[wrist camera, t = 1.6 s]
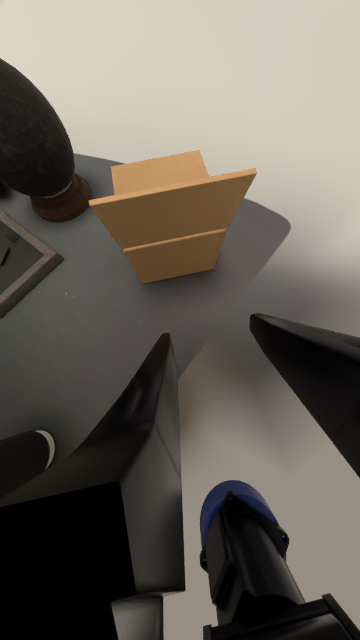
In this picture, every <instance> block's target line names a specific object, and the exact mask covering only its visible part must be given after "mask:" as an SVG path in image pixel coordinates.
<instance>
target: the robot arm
mask: <svg viewBox="0 0 360 640" xmlns="http://www.w3.org/2000/svg"><path fill="white" fill-rule="evenodd" d="M250 331H251V332H252V334H253V336H254V337H255V339H256V341H257V343H258V344H259V346H260V348H261V349H262V351H263V352H264V354H265V355H266V356H267V358H268V359H269V360H270V362H271V363H272V364H273V365H274V367H275V368H276V369H277V371H278V372H279V373H280V375H281V376H282V377H283V378H284V380H285V381H286V382H287V383H288V385H289V386H290V387H291V389H292V390H293V391H294V393H295V394H296V395H297V397H298V398H299V399H300V400H301V402H302V403H303V405H304V406H305V407H306V408H307V410H308V411H309V412H310V414H311V415H312V416H313V418H314V419H315V420H316V421H317V423H318V424H319V425H320V427H321V428H322V429H323V431H324V432H325V433H326V434H327V436H328V437H329V438H330V440H331V441H332V442H333V444H334V445H335V446H336V448H337V449H338V450H339V452H340V453H341V454H342V455H343V457H344V458H345V459H346V461H347V462H348V463H349V465H350V466H351V467H352V469H353V470H354V471H355V472H356V474H357V475H358V476H359V478H360V338H359V337H355V336H350V335H346V334H342V333H338V332H336V333H335V332H334V331H330V330H326V329H322V328H318V327H314V326H309V325H305V324H301V323H297V322H293V321H289V320H285V319H281V318H277V317H272V316H269V315H264V314H260V313H256V314H252V315H251V316H250ZM230 497H233V499H232V500H230V499H229V498H230ZM282 536H284V538H281V537H282ZM288 545H289V537H288V535H287V534H286V532H285V531H284V530H283V529H282V528H281V527H279V526H278V525H277V524H275V523H274V522H273V521H271V520H270V519H269V518H267V517H266V516H265V515H263V514H262V513H261V512H259V511H258V510H257V509H255V508H254V507H253V506H251V505H250V504H249V503H247V502H246V501H245V500H243V499H242V498H241V497H239V496H238V495H237V494H235V493H234V492H233V491H228V492H227V493H226V495H225V497H224V500H223V502H222V504H221V507H220V509H219V511H217V512H216V514H215V516H214V518H213V521H212V523H211V525H210V527H209V530H208V532H207V534H206V537H205V544H204V546H203V548H202V551H201V553H200V565H201V567H202V568H203V569H204V570H205V571H206V572H207V573H208V575H209V584H210V594H211V599H212V603H213V604H214V605H215V606H216V610H217V618H218V626H216V627H212V626H211V624H210V625H206V626H203V640H360V631H359V629H358V628H357V627H356V625H355V624H354V623H353V622H352V620H351V619H350V618H349V617H348V615H347V614H346V613H345V612H344V610H343V609H342V608H341V607H340V605H339V604H338V603H337V602H336V600H335V599H334V598H333V596H332V595H331V594H330V593H328V594H324V595H322V599H318V600H314V601H311V602H307V603H306V602H305V600H304V598H303V596H302V594H301V592H300V590H299V588H298V586H297V584H296V582H295V580H294V578H293V576H292V574H291V572H290V570H289V568H288V566H287V564H286V562H285V560H284V557H285V554H286V551H287V548H288ZM204 559H207V560H206V561H204ZM184 591H185V567H184V540H183V512H182V485H181V461H180V433H179V407H178V379H177V367H176V361H175V355H174V350H173V344H172V340H171V337H170V333H164V334H162V335H161V336H160V338H159V339H158V341H157V342H156V344H155V345H154V347H153V348H152V350H151V351H150V353H149V354H148V356H147V357H146V359H145V360H144V362H143V363H142V365H141V366H140V368H139V369H138V371H137V372H136V374H135V375H134V378H132V380H131V381H130V383H129V384H128V386H127V387H126V388H125V390H124V391H123V393H122V394H121V395H120V397H119V398H118V399H117V401H116V402H115V403H114V404H113V406H112V407H111V408H110V409H109V411H108V412H107V413H106V414H105V416H104V417H103V418H102V419H101V421H100V422H99V423H98V424H97V426H96V427H95V428H94V429H93V430H92V432H91V433H90V434H89V435H88V437H87V438H86V439H85V440H84V441H83V442H82V443H81V445H80V446H79V447H78V448H77V449H75V450H74V451H73V452H72V453H71V454H70V455H68V456H67V457H66V458H64V459H63V460H61V461H60V462H58V463H57V464H55V465H54V466H52V467H50V468H49V469H47V470H46V471H44V472H42V473H41V474H39V475H38V476H36V477H34V478H33V479H31V480H30V481H28V482H26V483H25V484H23V485H22V486H20V487H18V488H17V489H15V490H14V491H12V492H11V493H9V494H7V495H6V496H4V497H3V498H1V499H0V640H163V639H164V635H163V597H165V596H169V595H173V594H176V593H180V592H184Z"/></svg>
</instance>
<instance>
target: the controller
mask: <svg viewBox="0 0 360 640" xmlns="http://www.w3.org/2000/svg"><path fill="white" fill-rule="evenodd" d="M5 188H6V185H4V184H3V183H1V182H0V191H2V190H4V189H5Z"/></svg>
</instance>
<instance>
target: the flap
mask: <svg viewBox="0 0 360 640" xmlns="http://www.w3.org/2000/svg"><path fill="white" fill-rule="evenodd" d="M256 174H257V172H256V169H255V168H253V169H248V170H244V171H238V172H233V173H228V174H222V175H217V176H212V177H207V178H202V179H197V180H191V181H186V182H181V183H176V184H171V185H166V186H161V187H155V188H150V189H145V190H140V191H135V192H130V193H124V194H119V195H114V196H109V197H104V198H99V199H93V200H89V205H90V207H91V208H92V210H93V211H94V212H95V214H96V215H97V216H98V218H99V219H100V220H101V222H102V223H103V224H104V226H105V227H106V228H107V230H108V231H109V232H110V234H111V235H112V236H113V238H114V239H115V240H116V242H117V243H118V244H119V246H120V247H121V248H122V249H126V248H131V247H136V246H141V245H146V244H151V243H156V242H161V241H166V240H171V239H176V238H180V237H185V236H190V235H195V234H200V233H205V232H210V231H215V230H220V229H225V228H228V226H229V224H230V222H231V220H232V218H233V217H234V215H235V213H236V211H237V209H238V207H239V205H240V204H241V202H242V200H243V198H244V196H245V194H246V192H247V190H248V189H249V187H250V185H251V183H252V181H253V179H254V177H255V176H256Z"/></svg>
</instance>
